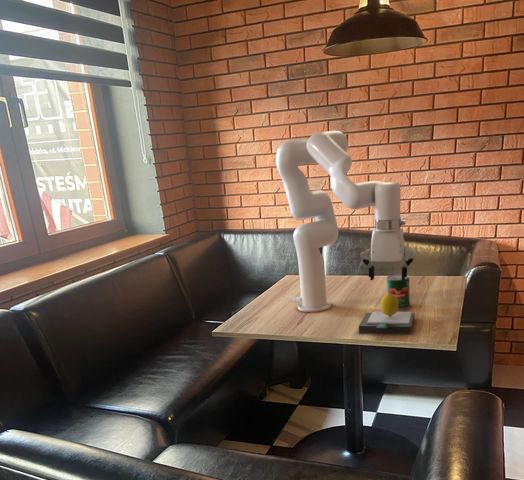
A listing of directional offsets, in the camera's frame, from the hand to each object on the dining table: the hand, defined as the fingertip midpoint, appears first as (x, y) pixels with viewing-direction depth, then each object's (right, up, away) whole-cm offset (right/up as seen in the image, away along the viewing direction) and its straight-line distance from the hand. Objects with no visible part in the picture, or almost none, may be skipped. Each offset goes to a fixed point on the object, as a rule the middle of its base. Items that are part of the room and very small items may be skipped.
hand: (387, 279), depth 169 cm
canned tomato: (+9, -7, +24) cm, 26 cm away
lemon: (+2, -12, +4) cm, 13 cm away
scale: (+1, -15, +4) cm, 16 cm away
